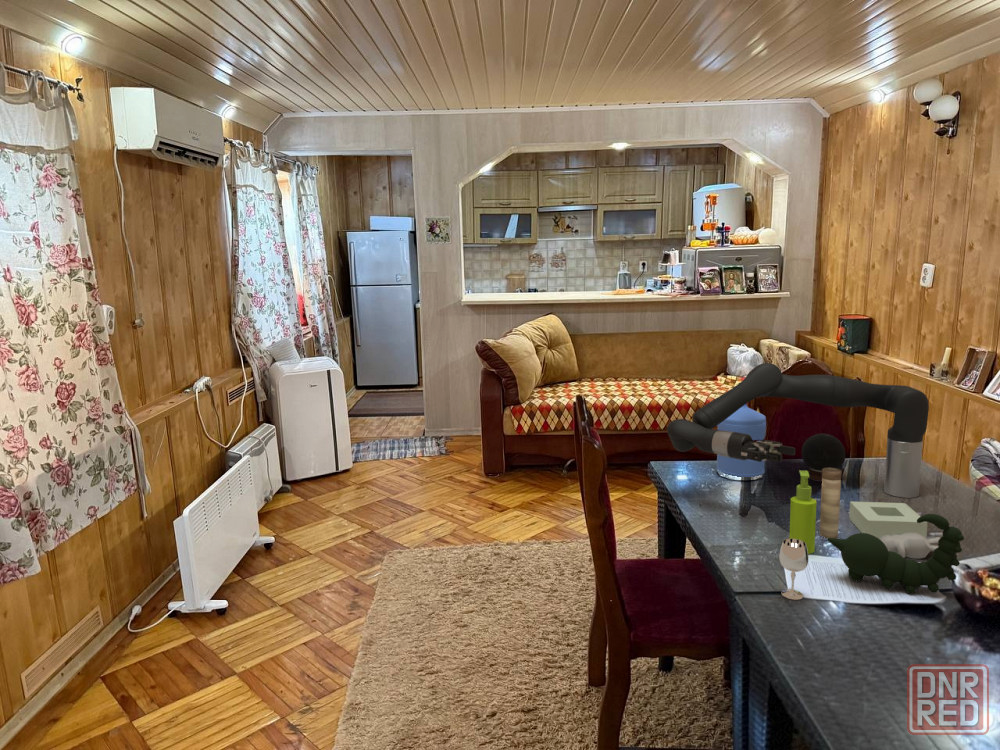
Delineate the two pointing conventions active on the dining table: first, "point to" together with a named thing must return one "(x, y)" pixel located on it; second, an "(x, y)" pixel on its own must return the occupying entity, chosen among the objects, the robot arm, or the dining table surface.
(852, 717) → the dining table surface
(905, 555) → the bunny figurine
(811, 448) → the black ball on pedestal
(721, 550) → the dining table surface
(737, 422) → the water jug
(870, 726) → the dining table surface
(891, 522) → the socket block
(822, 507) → the peg
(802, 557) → the wineglass
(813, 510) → the soap dispenser
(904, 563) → the toy figurine
